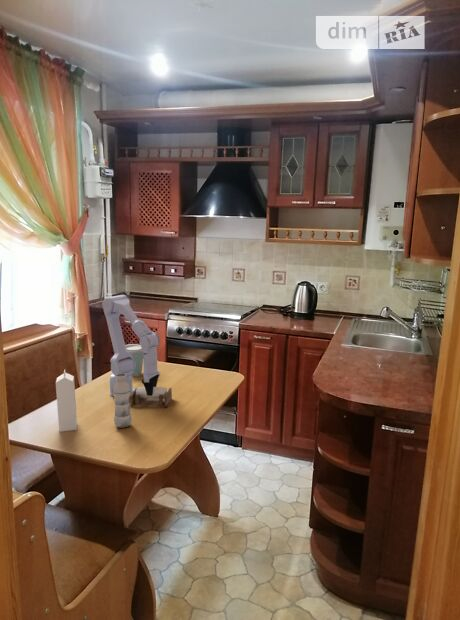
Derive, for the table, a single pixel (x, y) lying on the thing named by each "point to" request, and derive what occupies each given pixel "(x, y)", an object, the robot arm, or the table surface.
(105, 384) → the table surface
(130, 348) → the disposable coffee cup
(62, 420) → the milk
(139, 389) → the cylinder
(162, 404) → the holder
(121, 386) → the plastic bottle
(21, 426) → the table surface
